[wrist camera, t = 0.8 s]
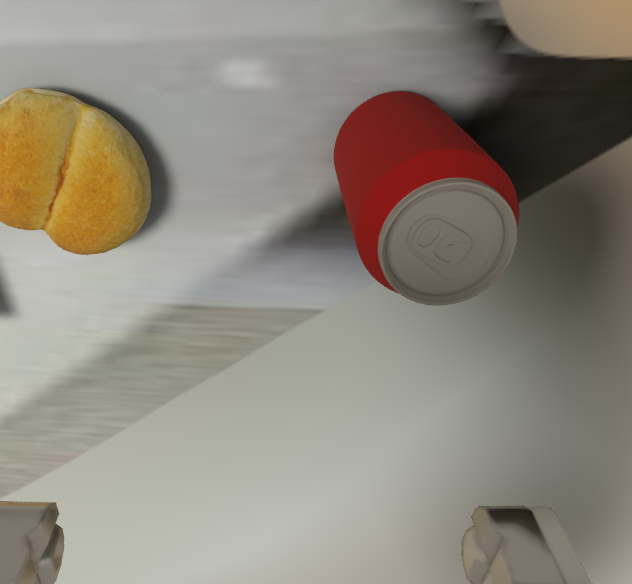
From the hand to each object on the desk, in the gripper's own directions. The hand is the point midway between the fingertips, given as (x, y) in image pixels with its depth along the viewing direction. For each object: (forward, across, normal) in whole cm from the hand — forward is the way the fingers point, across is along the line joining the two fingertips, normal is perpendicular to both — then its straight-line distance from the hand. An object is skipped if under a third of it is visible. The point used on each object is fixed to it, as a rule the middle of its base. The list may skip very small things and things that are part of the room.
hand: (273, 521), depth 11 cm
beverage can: (+24, -7, 0) cm, 25 cm away
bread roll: (+24, +11, +2) cm, 26 cm away
